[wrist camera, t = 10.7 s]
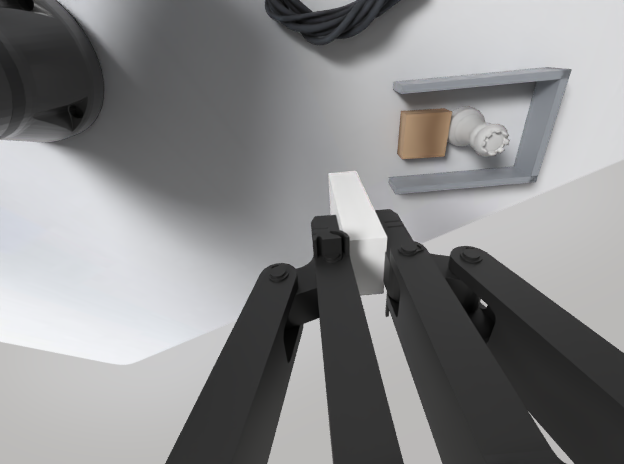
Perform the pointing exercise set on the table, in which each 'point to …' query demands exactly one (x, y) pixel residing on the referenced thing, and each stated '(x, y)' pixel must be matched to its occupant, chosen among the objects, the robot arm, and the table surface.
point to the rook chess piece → (476, 132)
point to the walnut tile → (423, 133)
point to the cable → (327, 18)
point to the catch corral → (532, 139)
